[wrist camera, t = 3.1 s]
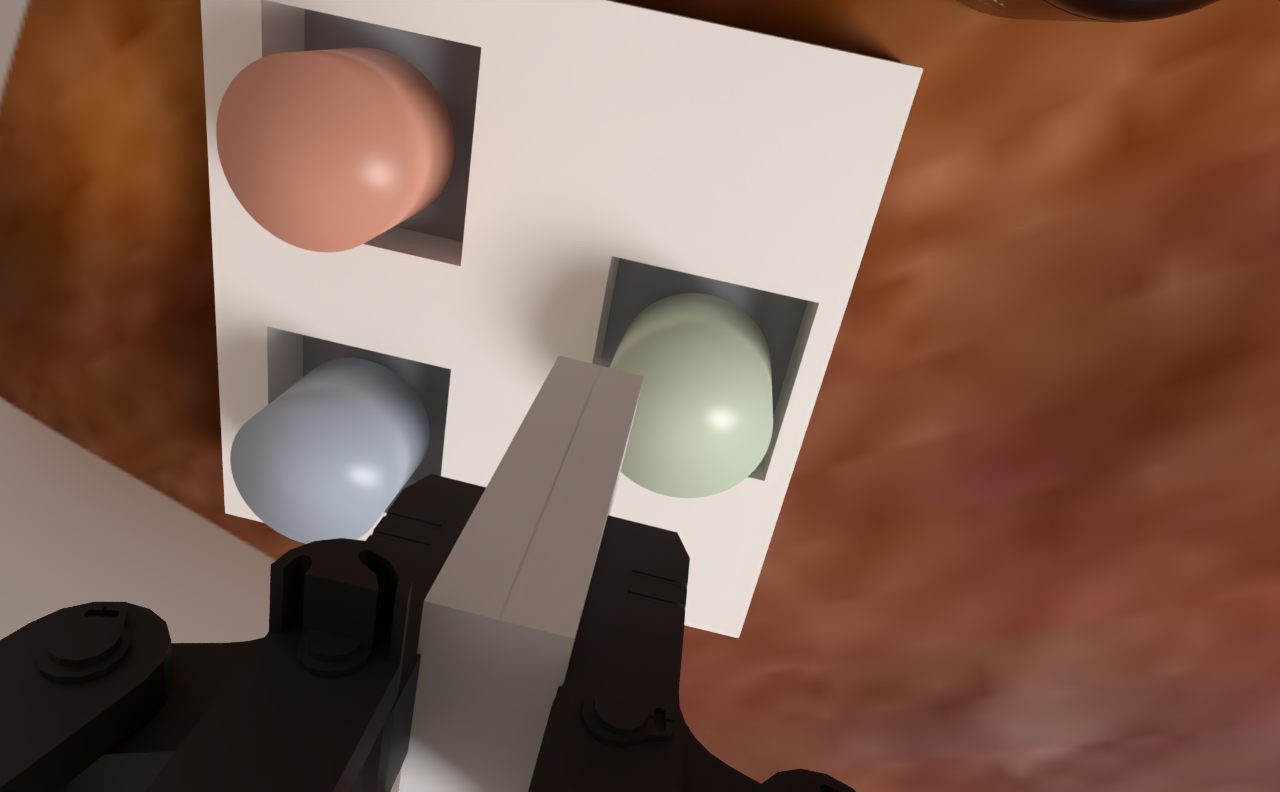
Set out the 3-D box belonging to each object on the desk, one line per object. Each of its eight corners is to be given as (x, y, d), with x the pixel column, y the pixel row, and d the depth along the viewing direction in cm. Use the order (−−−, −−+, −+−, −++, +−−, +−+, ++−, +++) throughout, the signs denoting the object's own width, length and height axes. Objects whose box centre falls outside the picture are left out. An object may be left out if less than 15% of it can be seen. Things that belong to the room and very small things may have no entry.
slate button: (295, 343, 28) (227, 391, 24) (435, 376, 27) (387, 429, 24) (296, 465, 30) (233, 525, 26) (425, 496, 30) (379, 561, 26)
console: (265, -74, 25) (196, -88, 22) (902, 62, 24) (923, 68, 21) (273, 468, 34) (225, 513, 31) (740, 581, 33) (738, 638, 30)
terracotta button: (296, 31, 23) (211, 32, 20) (462, 67, 23) (407, 76, 19) (295, 200, 25) (220, 230, 22) (447, 235, 25) (396, 270, 22)
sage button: (632, 277, 25) (612, 320, 21) (789, 312, 25) (794, 362, 21) (605, 415, 27) (582, 475, 24) (749, 449, 27) (748, 515, 23)
